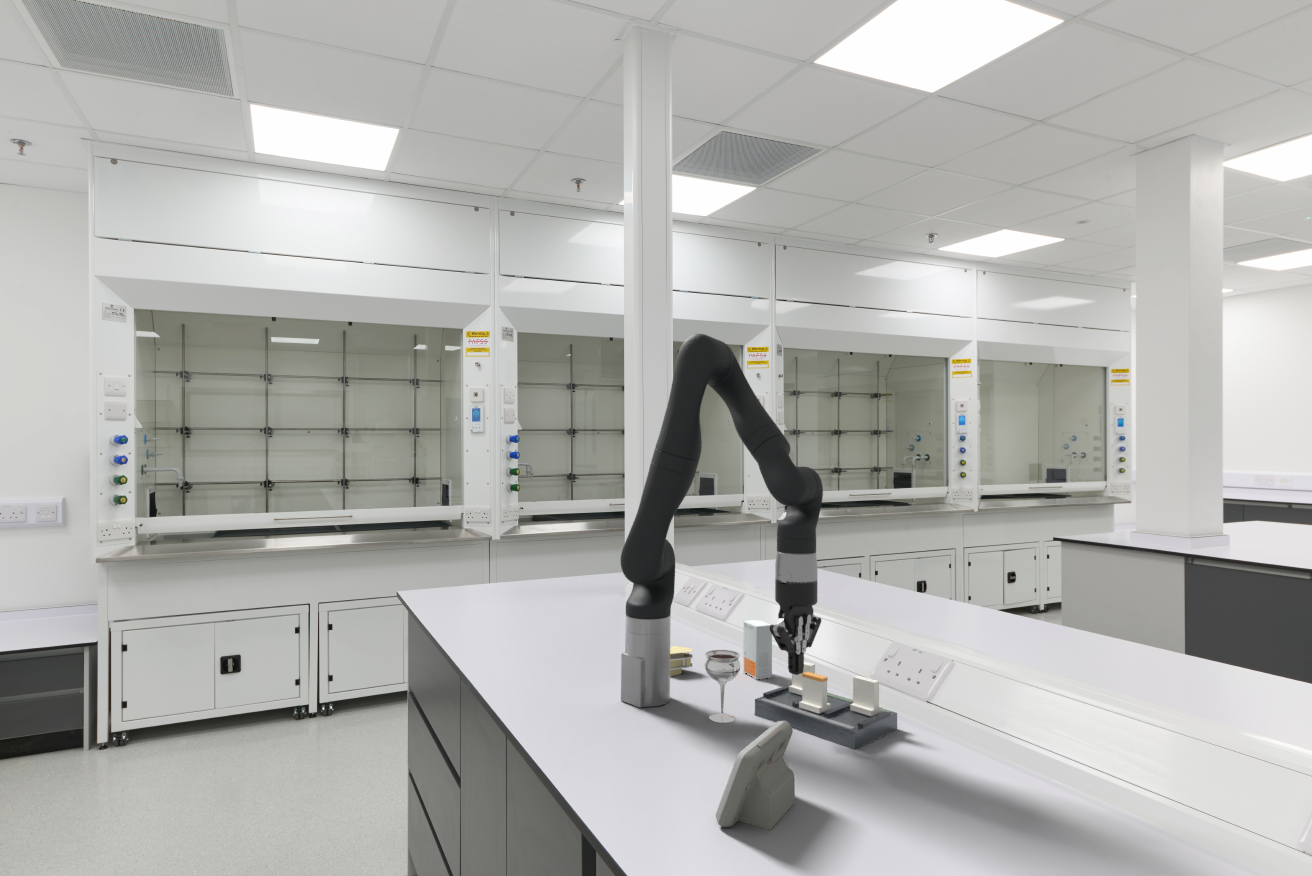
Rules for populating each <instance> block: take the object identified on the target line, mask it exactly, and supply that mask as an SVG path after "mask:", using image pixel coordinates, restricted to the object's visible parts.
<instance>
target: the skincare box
mask: <svg viewBox="0 0 1312 876" xmlns="http://www.w3.org/2000/svg"><path fill="white" fill-rule="evenodd" d="M770 625H771V624H770V623H768V622H766V621H763V620H760V619H750V620H743V667H742V668H743V673H744V672H745V673H744V674H746V673H747V674H746V675H748V676H749V675H750V677H751V676H752V677H751V678H753V679H755V680H756V679H760V680H767V679H766V678H768V679H772V677H773V663H772V662H773V635H772V633H771V631H770Z"/></svg>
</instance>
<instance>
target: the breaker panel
mask: <svg viewBox="0 0 1312 876" xmlns="http://www.w3.org/2000/svg"><path fill="white" fill-rule="evenodd" d="M791 685H792V683H790V684H787V685H784V686H780V687H777V688H775V689H771V690H769V691H766V692H763V693H762V694H763V695H762V696H759V697H757V698H755V699H754V715H755V716H757V717H760V718H763V719H766V720H769V721H771V722H772V721H773V722H774V723H776V722H778V721H787V722H788V723H789V724H790V725H791V727H792V729H794V730H797V731H801V732H804V733H806V734H809V735H811V736H814V737H817V738H821V739H823V740H826V741H829V742H832V743H835V744H838V745H840V746H843V747H847V748H849V749H852V750H857V749H859V748H861V747H863V746H865V745H867V744H870V743H872V742H874V741H876V740H877V739H880V738H883V737H884V736H886V735H888V734H891V733H892V732H894V731H897V730H898V712H896V711H892V710H889V709H886V708H882V712H881V713H878V714H876V715H874V716H868V715H865V714H862V713H858V712H855V711H852V710H850V704H853V699H851V698H847V697H844V696H841V695H837V694H835V693H829V692H827V703H829V704H830V710H827V711H825V712H822V713H820V714H818V713H815V712H812V711H809V710H805V709H802V708H799V702H801V701H802V695H799V694H796V693H792V692H789V686H791Z"/></svg>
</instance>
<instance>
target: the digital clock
mask: <svg viewBox="0 0 1312 876" xmlns="http://www.w3.org/2000/svg"><path fill="white" fill-rule="evenodd" d="M793 731H794V730H793V728H792V727H791V725H790V724H789V723H788V722H787V721H778V722H774V724H773V725H771V726H770V727H769V728H768V729H766V730H765V731H764V732H762V733H761V734H760V735H759V736H757V738H755V739H754V740H753V741H751V742H750V743H748V744H747V746H746V747H744V748H742V750H741V751H739V752H738V754H737V756H736V758H735V761H734V763H733V765H732V769H731V772H730V774H729V777H728V779H727V783H726V785H725V789H724V790H723V794H722V796H721V799H720V801H719V804H718V807H717V810H716V813H715V819H716V822H717V824H718V825H719V826H721V827H723V828H730V827H733V826H734V825H735V824H736V823H737V822H738V821H739V822H742V823H744V824H748V825H752V826H755V827H758V828H762V829H765V830H769V831H770V830H772V829H773V828H774V827H775V826H776V824H778V823H779V821H780V820H781V819H782V818H783V817H784V816H785V814H786V813H787V812H788V811H789V810H790V809H791V808H792V806H794V804H795V803H796V802H795V798H796V797H795V796H796V794H795V790H796V789H795V787H796V784H795V782H796V781H795V779H796V777H795V774H794V772H793V770H792V769H791V768H790V767H789V766H788V764H787V763H786V761H785V758H784V756H785V753H786V752H787V748H788V745H789V742H790V740H791V738H792V735H793Z"/></svg>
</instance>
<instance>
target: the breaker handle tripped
mask: <svg viewBox="0 0 1312 876" xmlns="http://www.w3.org/2000/svg"><path fill="white" fill-rule="evenodd" d="M828 679H829V678H828V676H825V675H821V674H818V673H815V674H814V673H811V672H805V673H802V701H801V702H799V708H802V709H805V710H809V711H812V712H815V713H818V714H820V713H822V712H825V711H827V710H830V704H829V703H827V693H828Z"/></svg>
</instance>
